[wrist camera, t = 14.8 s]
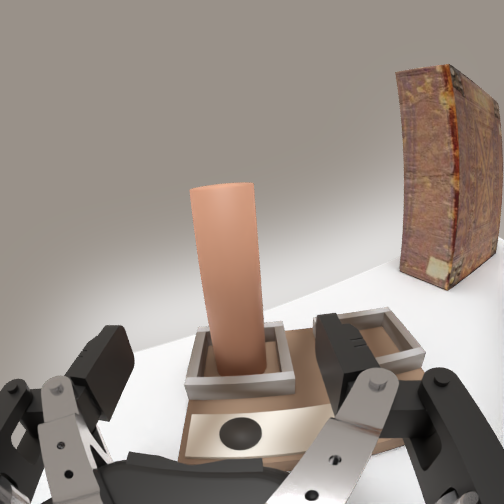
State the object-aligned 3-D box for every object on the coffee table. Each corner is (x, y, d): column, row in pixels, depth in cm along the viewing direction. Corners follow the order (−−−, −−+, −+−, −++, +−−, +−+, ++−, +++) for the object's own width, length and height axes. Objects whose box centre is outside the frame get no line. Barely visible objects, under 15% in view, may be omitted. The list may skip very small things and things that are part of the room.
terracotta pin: (265, 349, 24) (252, 181, 19) (268, 380, 20) (254, 186, 16) (218, 352, 24) (195, 186, 19) (215, 383, 20) (183, 193, 16)
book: (461, 242, 49) (461, 102, 40) (496, 253, 41) (498, 103, 32) (398, 272, 40) (394, 70, 30) (447, 292, 32) (448, 62, 22)
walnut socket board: (381, 329, 27) (385, 303, 26) (446, 428, 13) (462, 399, 12) (204, 349, 27) (199, 322, 26) (183, 473, 13) (169, 450, 12)
